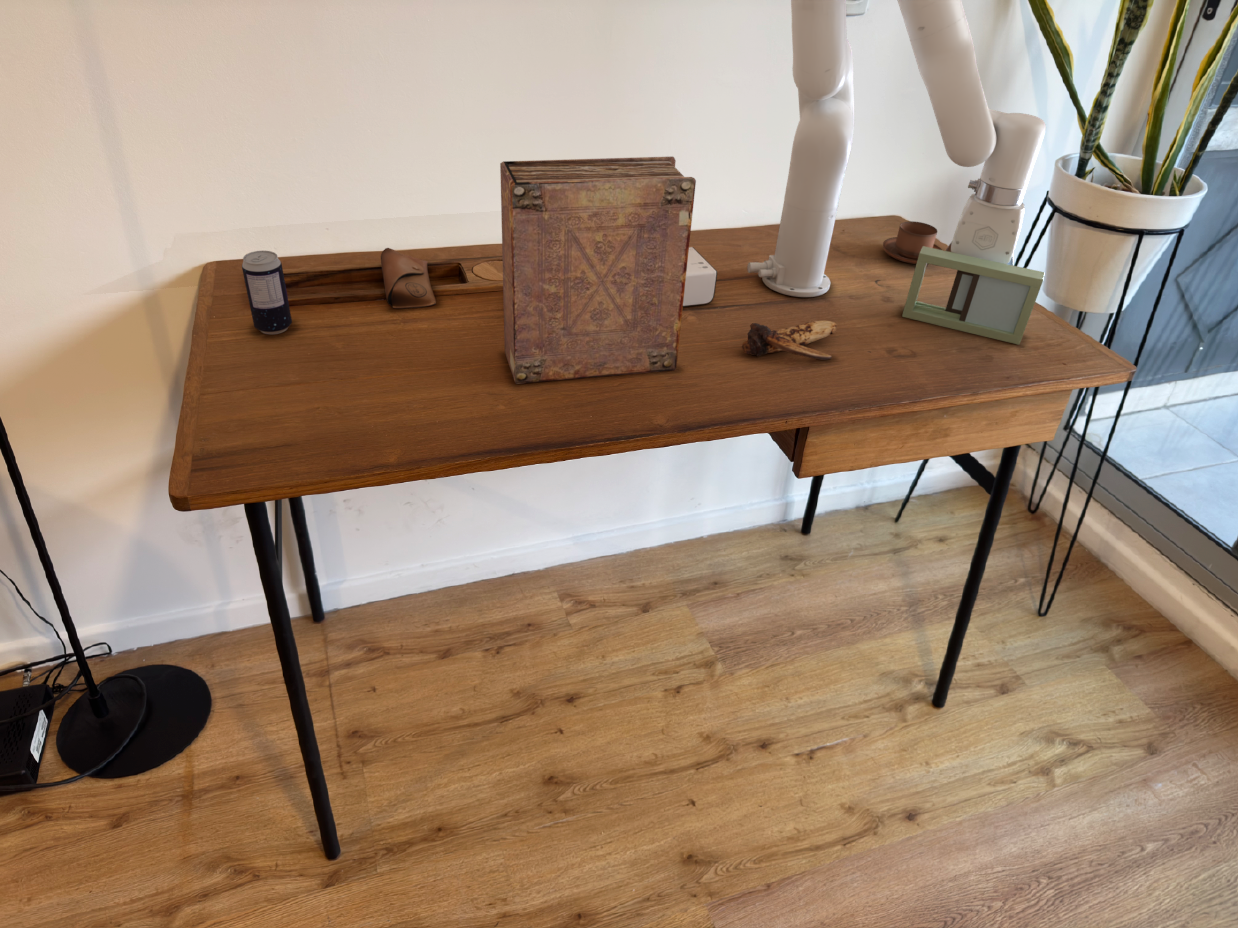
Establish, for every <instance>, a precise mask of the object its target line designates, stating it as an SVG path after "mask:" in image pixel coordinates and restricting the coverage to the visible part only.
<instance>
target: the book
mask: <svg viewBox="0 0 1238 928" xmlns="http://www.w3.org/2000/svg"><path fill="white" fill-rule="evenodd" d="M676 162H677V161H676V158H675V157H674V156H639V157H638V156H637V157H608V158H577V159H576V158H574V159H572V158H571V159H543V160H542V159H541V160H539V159H538V160H508V161H507V160H505V161H501V162H500V164H499V167H500V169H499V170H500V208H501V210H500V211H501V251H502V292H503V293H502V294H503V334H504V335H503V337H504V338H503V339H504V340H503V342H504V355H505V357H506V360H507V363H508V366H509V368H510V371H511V374H512V378H513V380H514V383H515V385H519V384H531V383H543V382H556V381H565V380H566V381H567V380H580V379H591V378H598V377H599V378H600V377H601V378H602V377H612V376H624V375H635V374H636V375H637V374H649V373H659V372H661V373H662V372H670V371H671V372H673V371H676V370H677V366H678V357H679V347H680V336H681V329H682V328H681V327H682V319H683V309H684V307H683V300H684V290H685V281H686V271H687V261H688V252H689V247H690V240H691V232H692V223H693V212H694V202H695V194H696V185H697V184H696V183H697V180H696V178H695V177H693V176H684V175H683V174H682V173H681V172H680V171H679V170H678V169H677V168H676Z"/></svg>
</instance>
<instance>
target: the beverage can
mask: <svg viewBox="0 0 1238 928" xmlns="http://www.w3.org/2000/svg"><path fill="white" fill-rule="evenodd" d="M242 260H243V261H242V265H241V269H242V270H241V271H242V273H243V279H244V284H245V290H246V294H247V299H248V305H249V309H250V314H251V318H252V323H253V327H254V328H255V329H256V330H258V331H259V332H260V333H262V334H264V335H278V334H282V333H284V332H286V331H287V330H288V328H289V327H290V326H292V323H293V319H292V315H291V308H290V303H289V297H288V296H289V295H288V292H287V286H286V281H285V273H284V269H283V264H282V261H281V259H279V257H278V253H276V252H273V251H271V250H254V251H251V252H248V253H246V254H245V255H243V257H242Z"/></svg>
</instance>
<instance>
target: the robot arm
mask: <svg viewBox="0 0 1238 928" xmlns="http://www.w3.org/2000/svg"><path fill="white" fill-rule="evenodd" d="M897 5H898V7H899V11H900V13H901V17H902V19H903V22H904V25H905V28H906V31H907V35H908V39H909V42H910V45H911V48H912V52H913V55H914V58H915V62H916V65H917V68H918V72H919V74H920V77H921V79H922V81H923V84H924V87H925V88H926V91H927V94H928V97H929V100H930V103H931V104H930V105H931V107H932V110H933V113H934V117H935V119H936V123H937V126H938V129H939V133H940V137H941V139H942V142H943V146H944V149H945V151H946V155H947V157H948V158H949V160H950V161H951V162H953V163H954V164H956V165H957V166H960V167H963V168H973V167H977V166H979V165H981V164H983V167H982V170H981V173H980V177H979V178H977V179H974V180H973V179H969V183H968V185H967V188H968V189H971V190H973V192H974V193H972V194H971V195H970V196H969V197H968V199H967V201H966V203H965V204H964V207H963V209H962V212H961V214H960V217H959V220H958V222H957V225H956V229H955V231H954V234H953V237H952V239H951V242H950V243H949V244H948V245H947V247H946V249H945V250H944V251H948V252H953V253H957V254H962V255H967V256H971V257H976V258H980V259H985V260H990V261H994V262H999V263H1004V264H1008V265H1013V266H1015V262H1014V261H1015V260H1014V259H1015V258H1014V257H1015V256H1014V252H1015V249H1016V246H1017V244H1018V240H1019V236H1020V232H1021V229H1022V226H1023V225H1022V224H1023V221H1024V215H1025V209H1026V208H1025V204H1024V203H1023V199H1024V197H1025V194H1026V190H1027V187H1028V184H1029V181H1030V179H1031V177H1032V172H1033V169H1034V166H1035V163H1036V161H1037V158H1038V155H1039V152H1040V149H1041V146H1042V143H1043V140H1044V138H1045V134H1046V129H1047V126H1046V125H1047V124H1046V123H1045V120H1043V119H1042V118H1040V117H1039V116H1036V115H1032V114H1029V113H1028V114H1027V113H1023V112H1003V111H999V110H995V109H992V108H989V104H988V101H987V98H986V94H985V90H984V87H983V83H982V79H981V75H980V71H979V67H978V62H977V56H976V49H975V44H974V40H973V35H972V32H971V28H970V24H969V21H968V18H967V14H966V11H965V7H964V5H963V0H897ZM790 9H791V10H790V11H791V12H790V13H791V38H792V39H791V42H792V45H791V46H792V77H793V81H794V84H795V86H796V88H797V94H798V95H797V96H798V111H799V121H798V123H797V126H796V130H795V133H794V136H793V141H792V147H791V153H790V161H789V168H788V174H787V181H786V187H785V191H784V197H783V204H782V210H781V216H780V222H779V228H778V232H777V233H778V234H777V238H776V245H775V250H774V254H770V255H769V256H768V260H764V261H763V262H758V261H756V262H755V261H754V262H752V261H751V262H748V263H747V266H746V267H747V269H746V270H747V273H748V274H758V277H759V278H762V279H761V281H762V282H763V284H764V285H765V286H766V287H767V288H769V290H772V291H774V292H776V293H779V294H782V295H786V296H791V297H796V298H813V297H814V298H815V297H819V296H822V295H824V294H825V293H827V292H828V291H829V290H830V287H831V280H830V278H829V276H828V275H826V274H825V270H826V266H827V261H828V256H829V253H830V247H831V242H832V237H833V232H834V228H835V223H836V218H837V213H838V209H839V204H840V198H841V195H842V189H843V185H844V181H845V175H846V171H847V168H848V163H849V159H850V157H851V150H852V146H853V140H854V132H855V121H856V119H855V118H856V117H855V85H854V54H853V48H852V45H851V43H850V41H849V39H848V36H847V35H848V33H847V0H790Z"/></svg>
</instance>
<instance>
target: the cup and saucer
mask: <svg viewBox="0 0 1238 928" xmlns="http://www.w3.org/2000/svg"><path fill="white" fill-rule="evenodd" d="M937 235H938V229H937V228H936V227H935V226H933V225H931V224H928V223H926V222H922V221H913V220H912V221H911V220H910V221H903V222H901V223H900V224H899V228H898V232H897V236H894V237H889V238H887V239H885V240H883V242H882V248H883V250H884V251H885V253H886V254H887V255H888V256H890V258H891V257H892V258H893V259H895V260H897V261H900V262H903V263H906V264H911V265H916V264H917V261H918V257H919V253H920V251H921V249H922V247H923V246H925V247H929V248H934V249H939V250H943V249H942V248H941V247H940V246H939V245H937V244H935V243H936V242H935V241H936V238H937ZM927 265H929V264H928V263H927Z"/></svg>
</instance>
